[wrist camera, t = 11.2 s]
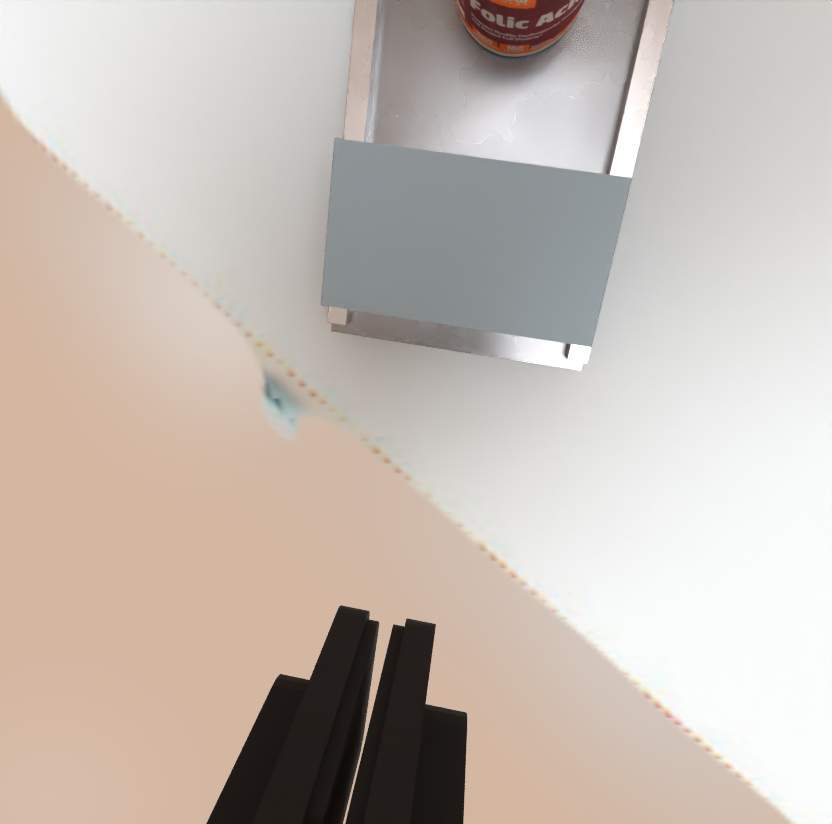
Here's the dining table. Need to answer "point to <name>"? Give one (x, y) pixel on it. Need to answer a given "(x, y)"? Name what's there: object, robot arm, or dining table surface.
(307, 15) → the dining table surface
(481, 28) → the pill bottle
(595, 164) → the vise base
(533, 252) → the plate
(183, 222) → the dining table surface
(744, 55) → the dining table surface
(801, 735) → the dining table surface
